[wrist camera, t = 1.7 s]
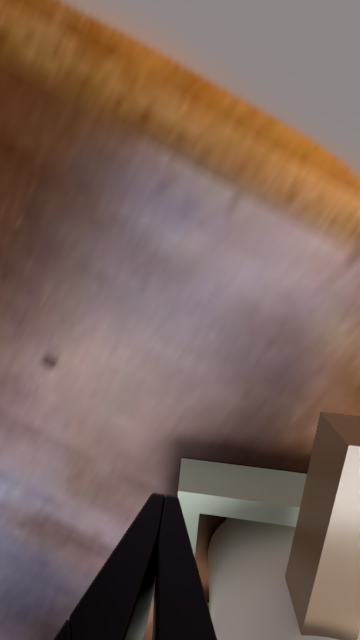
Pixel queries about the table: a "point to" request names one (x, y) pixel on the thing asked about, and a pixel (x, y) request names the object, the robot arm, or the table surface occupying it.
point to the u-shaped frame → (238, 494)
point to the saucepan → (296, 554)
